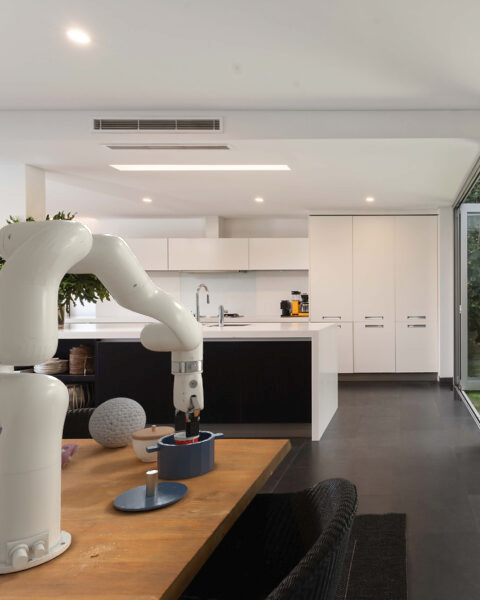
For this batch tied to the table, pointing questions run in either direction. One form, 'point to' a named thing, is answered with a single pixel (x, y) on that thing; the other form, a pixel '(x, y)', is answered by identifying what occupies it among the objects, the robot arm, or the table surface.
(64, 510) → the table surface
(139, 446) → the trinket box
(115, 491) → the table surface
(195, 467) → the pot
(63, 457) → the video game controller
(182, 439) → the beverage cup
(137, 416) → the decorative ball
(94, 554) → the table surface
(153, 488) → the lid
